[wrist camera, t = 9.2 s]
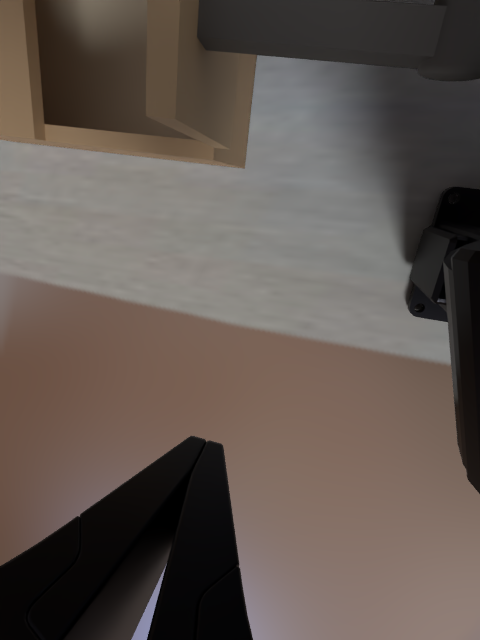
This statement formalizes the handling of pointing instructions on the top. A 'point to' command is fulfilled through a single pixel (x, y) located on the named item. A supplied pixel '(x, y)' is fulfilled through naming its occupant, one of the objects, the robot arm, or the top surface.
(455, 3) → the carton flap
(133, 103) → the kraft carton
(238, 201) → the top surface
